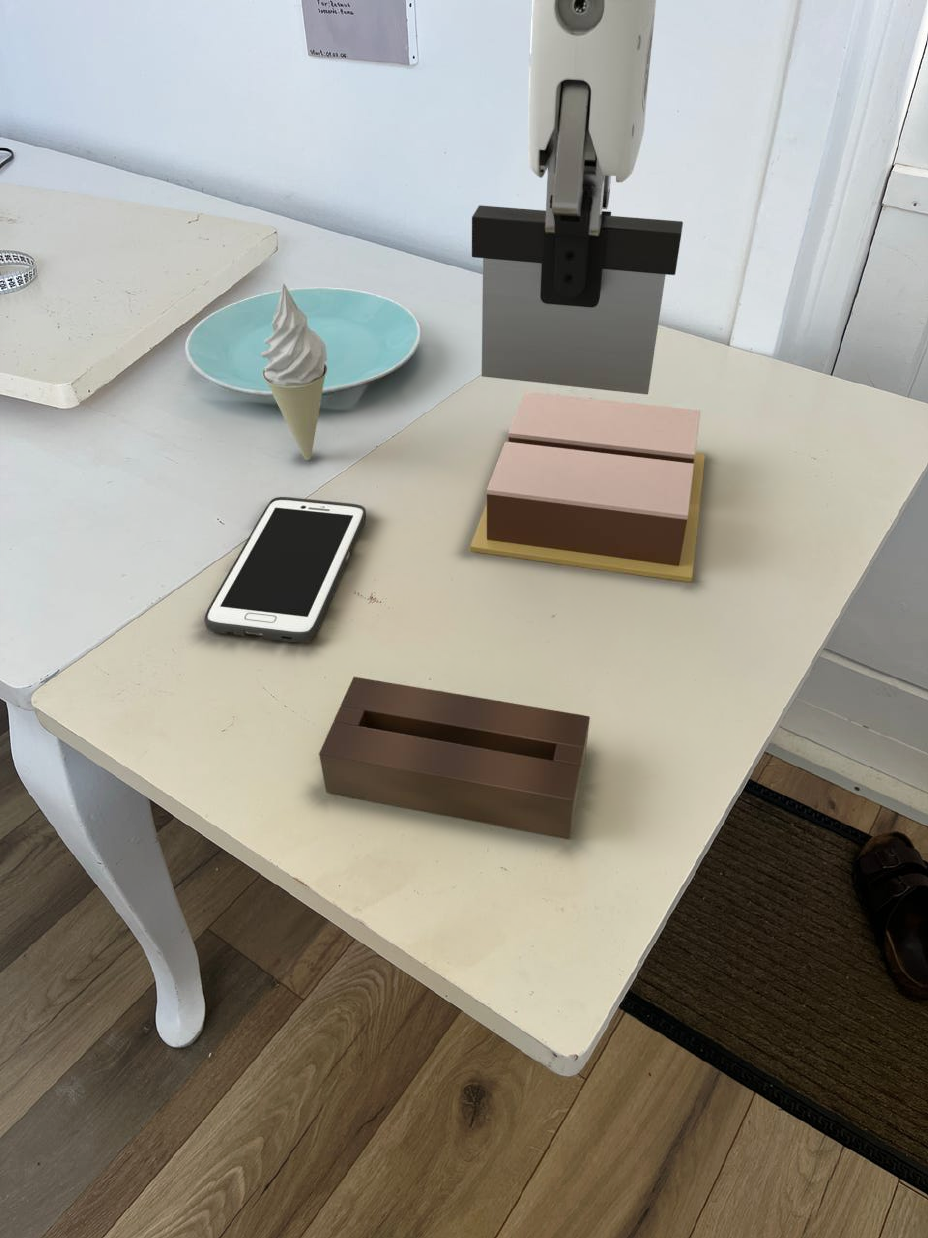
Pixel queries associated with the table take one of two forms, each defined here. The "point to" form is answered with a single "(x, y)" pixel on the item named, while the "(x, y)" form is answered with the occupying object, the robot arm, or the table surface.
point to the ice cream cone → (296, 370)
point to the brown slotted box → (457, 756)
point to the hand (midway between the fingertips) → (573, 290)
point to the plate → (343, 318)
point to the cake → (597, 487)
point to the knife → (570, 335)
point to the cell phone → (287, 570)
